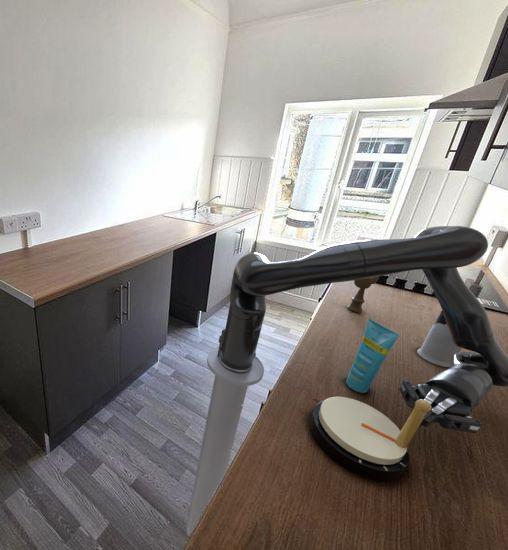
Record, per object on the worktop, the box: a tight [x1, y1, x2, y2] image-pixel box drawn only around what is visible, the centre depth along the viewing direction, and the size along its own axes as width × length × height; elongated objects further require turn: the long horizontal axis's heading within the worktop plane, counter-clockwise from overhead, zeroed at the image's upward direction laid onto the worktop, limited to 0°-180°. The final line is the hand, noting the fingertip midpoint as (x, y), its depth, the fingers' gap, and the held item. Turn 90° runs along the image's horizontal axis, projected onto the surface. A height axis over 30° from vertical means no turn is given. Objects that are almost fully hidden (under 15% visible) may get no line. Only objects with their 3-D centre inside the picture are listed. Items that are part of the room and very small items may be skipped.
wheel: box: [319, 396, 431, 465], centre depth 60 cm, size 15×15×13 cm
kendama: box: [347, 276, 380, 313], centre depth 115 cm, size 6×10×20 cm, turn 130°
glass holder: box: [416, 310, 463, 368], centre depth 90 cm, size 9×14×15 cm, turn 110°
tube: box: [345, 317, 400, 394], centre depth 75 cm, size 7×5×19 cm, turn 19°
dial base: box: [309, 400, 411, 483], centre depth 63 cm, size 17×17×3 cm
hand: (417, 420), depth 55 cm, fingers closed
